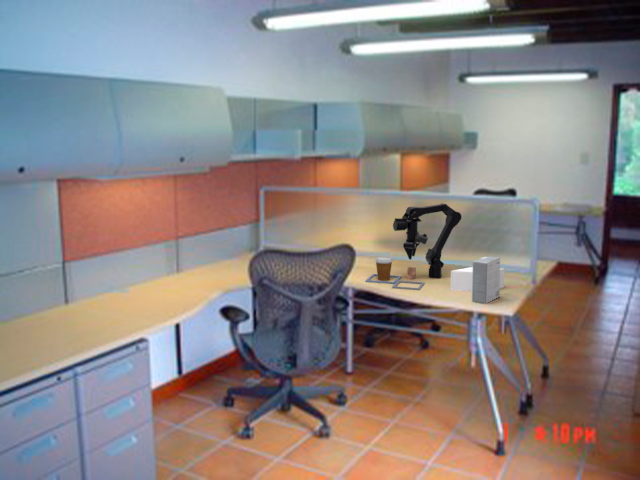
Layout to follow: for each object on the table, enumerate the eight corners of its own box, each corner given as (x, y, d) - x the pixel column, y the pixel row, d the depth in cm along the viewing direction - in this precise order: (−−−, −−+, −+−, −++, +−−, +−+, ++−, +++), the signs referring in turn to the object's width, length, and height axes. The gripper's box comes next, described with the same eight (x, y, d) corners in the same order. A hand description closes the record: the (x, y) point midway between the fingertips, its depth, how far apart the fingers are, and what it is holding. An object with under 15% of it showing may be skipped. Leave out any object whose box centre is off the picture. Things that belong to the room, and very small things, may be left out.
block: (415, 278, 353) (415, 267, 352) (414, 279, 350) (414, 269, 349) (408, 277, 355) (408, 267, 354) (407, 279, 351) (407, 268, 350)
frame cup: (401, 277, 355) (401, 275, 355) (394, 284, 340) (394, 282, 340) (373, 275, 361) (373, 273, 361) (365, 281, 346) (365, 280, 345)
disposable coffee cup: (373, 281, 347) (373, 259, 345) (377, 277, 356) (377, 256, 354) (390, 282, 345) (390, 260, 342) (393, 278, 354) (394, 257, 351)
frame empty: (424, 283, 340) (424, 282, 340) (419, 290, 327) (419, 288, 327) (398, 281, 345) (398, 280, 345) (392, 288, 332) (392, 286, 331)
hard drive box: (485, 295, 316) (486, 255, 313) (499, 297, 312) (501, 257, 308) (471, 301, 305) (472, 261, 301) (485, 304, 300) (487, 263, 296)
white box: (509, 291, 324) (510, 271, 322) (455, 293, 320) (455, 274, 318) (498, 284, 338) (499, 265, 336) (445, 286, 334) (446, 267, 332)
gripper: (423, 233, 336) (423, 262, 339) (429, 227, 353) (429, 255, 356) (403, 232, 340) (402, 260, 342) (410, 227, 357) (409, 254, 360)
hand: (411, 257), depth 350 cm, fingers open, 9 cm apart
